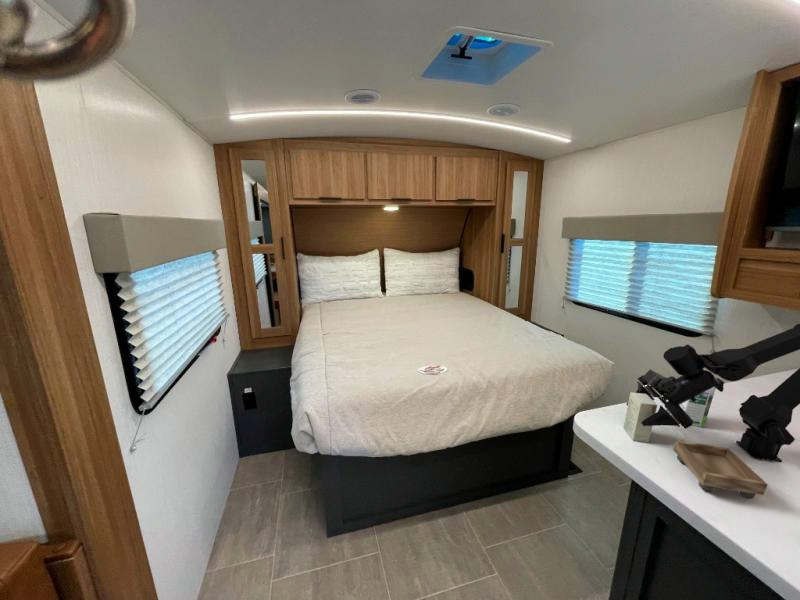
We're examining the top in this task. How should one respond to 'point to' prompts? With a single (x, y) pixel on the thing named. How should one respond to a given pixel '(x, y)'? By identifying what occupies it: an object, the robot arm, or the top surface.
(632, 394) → the skincare box
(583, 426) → the top surface
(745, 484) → the shallow wooden tray
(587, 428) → the top surface
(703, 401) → the syrup box
